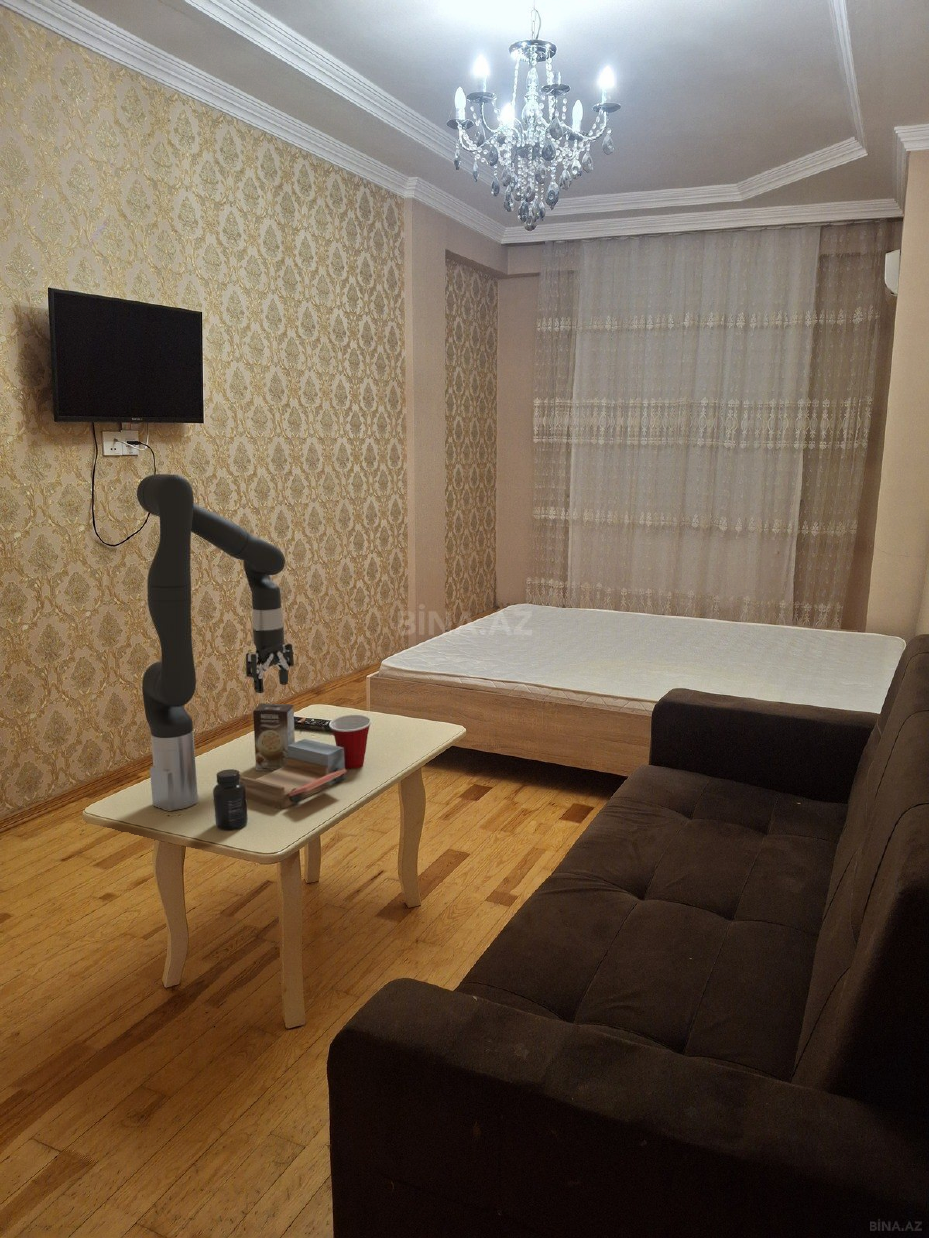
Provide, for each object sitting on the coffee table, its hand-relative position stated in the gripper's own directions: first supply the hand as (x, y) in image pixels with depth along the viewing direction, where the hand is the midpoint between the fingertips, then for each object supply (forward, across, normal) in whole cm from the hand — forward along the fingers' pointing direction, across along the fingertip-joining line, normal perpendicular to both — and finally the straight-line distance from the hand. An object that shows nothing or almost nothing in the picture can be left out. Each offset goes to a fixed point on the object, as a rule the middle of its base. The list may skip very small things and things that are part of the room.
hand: (271, 688), depth 226 cm
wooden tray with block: (+21, +8, +14) cm, 27 cm away
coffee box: (+21, 0, 0) cm, 21 cm away
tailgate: (+18, +11, +22) cm, 30 cm away
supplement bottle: (+21, +31, +17) cm, 41 cm away
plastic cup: (+21, -11, +16) cm, 29 cm away
